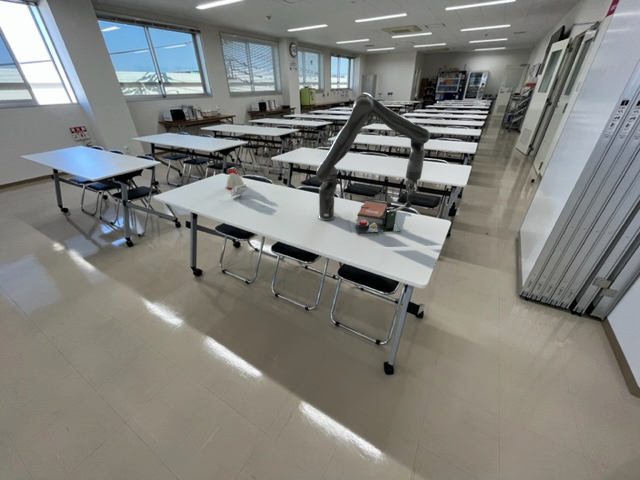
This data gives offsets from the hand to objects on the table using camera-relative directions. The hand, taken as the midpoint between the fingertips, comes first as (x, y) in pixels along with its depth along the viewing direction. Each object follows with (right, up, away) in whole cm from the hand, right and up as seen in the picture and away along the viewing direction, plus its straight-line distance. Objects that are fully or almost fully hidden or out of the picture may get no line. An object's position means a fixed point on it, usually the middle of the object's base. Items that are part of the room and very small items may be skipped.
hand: (408, 200), depth 146 cm
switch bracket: (-9, -16, +9) cm, 20 cm away
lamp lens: (-19, -14, +3) cm, 24 cm away
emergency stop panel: (-22, -17, +7) cm, 28 cm away
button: (-24, -12, +7) cm, 28 cm away
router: (-122, +7, +47) cm, 131 cm away
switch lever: (-4, -5, +3) cm, 7 cm away
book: (-14, -6, +26) cm, 30 cm away
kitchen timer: (-119, +22, +73) cm, 141 cm away
